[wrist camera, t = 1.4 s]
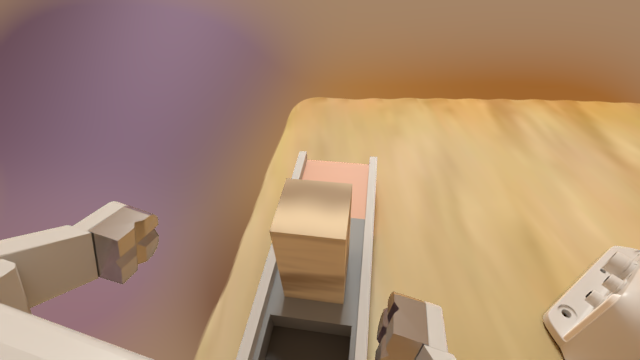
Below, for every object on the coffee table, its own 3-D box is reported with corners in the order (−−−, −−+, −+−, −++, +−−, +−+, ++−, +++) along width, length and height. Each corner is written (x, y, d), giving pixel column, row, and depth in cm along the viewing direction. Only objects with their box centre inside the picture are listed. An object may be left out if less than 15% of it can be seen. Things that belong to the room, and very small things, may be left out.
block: (343, 304, 33) (345, 239, 25) (284, 296, 34) (269, 231, 26) (349, 252, 37) (352, 183, 30) (296, 246, 38) (286, 178, 30)
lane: (359, 454, 27) (362, 445, 24) (230, 429, 29) (217, 418, 26) (374, 180, 50) (377, 157, 46) (302, 173, 51) (299, 151, 48)
